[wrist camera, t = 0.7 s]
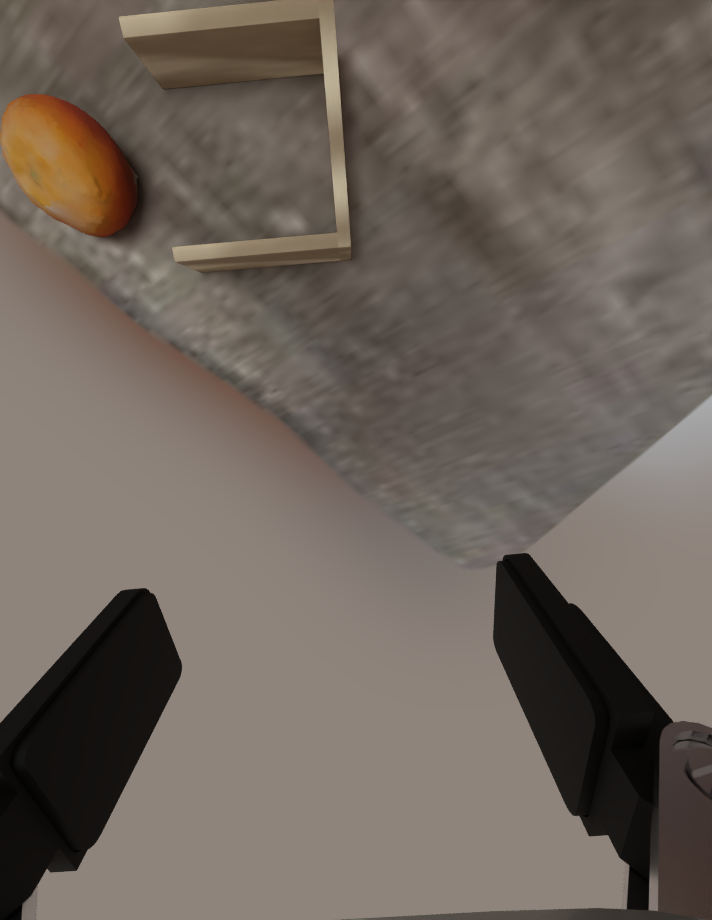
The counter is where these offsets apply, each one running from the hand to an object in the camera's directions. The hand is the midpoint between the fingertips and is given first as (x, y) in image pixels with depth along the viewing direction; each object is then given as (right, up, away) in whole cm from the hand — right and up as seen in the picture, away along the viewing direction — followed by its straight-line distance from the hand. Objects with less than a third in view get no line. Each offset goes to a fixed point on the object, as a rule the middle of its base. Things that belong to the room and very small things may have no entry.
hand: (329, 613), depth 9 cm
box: (-7, +29, +20) cm, 36 cm away
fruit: (-21, +28, +20) cm, 40 cm away
